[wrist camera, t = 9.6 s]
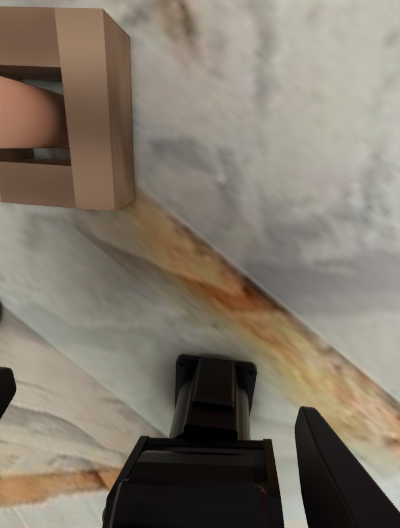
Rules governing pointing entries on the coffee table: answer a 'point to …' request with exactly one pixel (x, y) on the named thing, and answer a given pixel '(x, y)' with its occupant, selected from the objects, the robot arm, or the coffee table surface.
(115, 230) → the coffee table surface
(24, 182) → the socket
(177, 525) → the robot arm
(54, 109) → the peg
